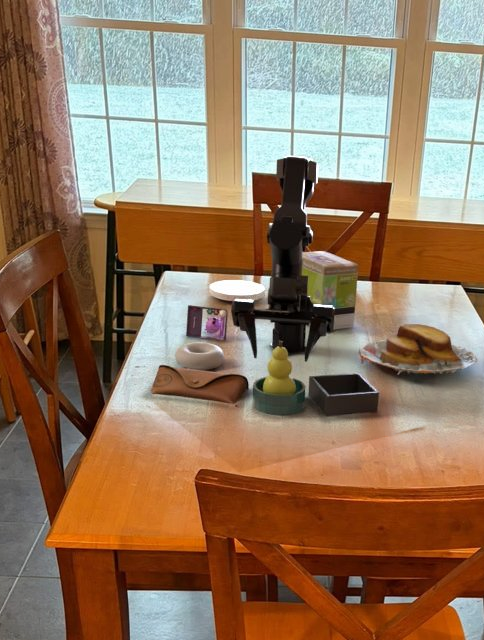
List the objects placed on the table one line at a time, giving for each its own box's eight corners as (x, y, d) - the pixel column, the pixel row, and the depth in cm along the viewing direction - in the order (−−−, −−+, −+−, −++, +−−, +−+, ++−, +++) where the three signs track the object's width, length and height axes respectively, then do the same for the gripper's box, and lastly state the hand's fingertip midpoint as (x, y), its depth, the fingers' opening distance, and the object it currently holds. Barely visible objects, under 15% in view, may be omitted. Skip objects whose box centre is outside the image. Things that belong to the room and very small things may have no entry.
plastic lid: (275, 299, 212) (276, 289, 211) (235, 308, 203) (235, 298, 202) (239, 286, 220) (239, 277, 218) (198, 295, 211) (198, 285, 209)
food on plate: (346, 374, 171) (348, 343, 167) (372, 339, 191) (375, 311, 188) (467, 393, 166) (472, 361, 163) (481, 355, 187) (486, 326, 183)
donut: (167, 369, 167) (215, 375, 165) (166, 352, 165) (214, 358, 163) (185, 353, 175) (230, 359, 173) (184, 337, 173) (230, 343, 172)
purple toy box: (187, 304, 181) (226, 309, 180) (193, 306, 186) (232, 311, 185) (185, 336, 183) (224, 340, 182) (191, 337, 188) (230, 341, 187)
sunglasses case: (144, 395, 153) (148, 359, 153) (155, 401, 160) (159, 366, 160) (239, 406, 152) (243, 370, 152) (246, 412, 159) (250, 377, 159)
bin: (308, 399, 158) (309, 376, 156) (357, 395, 162) (358, 372, 159) (325, 420, 151) (327, 396, 148) (377, 415, 154) (379, 392, 151)
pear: (283, 396, 157) (285, 334, 150) (301, 407, 153) (303, 344, 146) (256, 401, 154) (257, 338, 147) (273, 413, 150) (275, 348, 143)
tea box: (355, 327, 197) (360, 263, 189) (320, 332, 192) (323, 267, 184) (321, 310, 207) (324, 248, 199) (287, 314, 202) (289, 251, 194)
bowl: (255, 397, 157) (255, 374, 155) (305, 400, 158) (306, 378, 155) (250, 417, 149) (250, 393, 147) (303, 420, 150) (304, 397, 147)
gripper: (231, 252, 145) (224, 334, 141) (337, 260, 145) (333, 341, 142) (237, 286, 155) (230, 362, 152) (335, 293, 156) (331, 369, 153)
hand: (280, 358), depth 150 cm, fingers open, 9 cm apart
